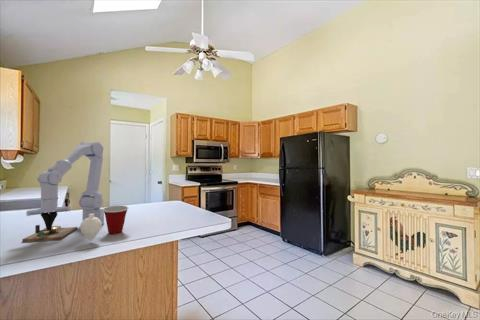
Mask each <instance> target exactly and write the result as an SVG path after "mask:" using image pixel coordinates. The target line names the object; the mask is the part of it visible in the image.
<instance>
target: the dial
mask: <svg viewBox="0 0 480 320" xmlns="http://www.w3.org/2000/svg"><path fill="white" fill-rule="evenodd" d="M40 226H41V225H40V224H37V225H35V230H34V231H35V232H34V234H35V233H39V232H43V231H52V230H58V229H60V228H62V226H61V225H52V228H51V230H46V227H44V228H43V229H44V230H43V229H41V230H40Z"/></svg>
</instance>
